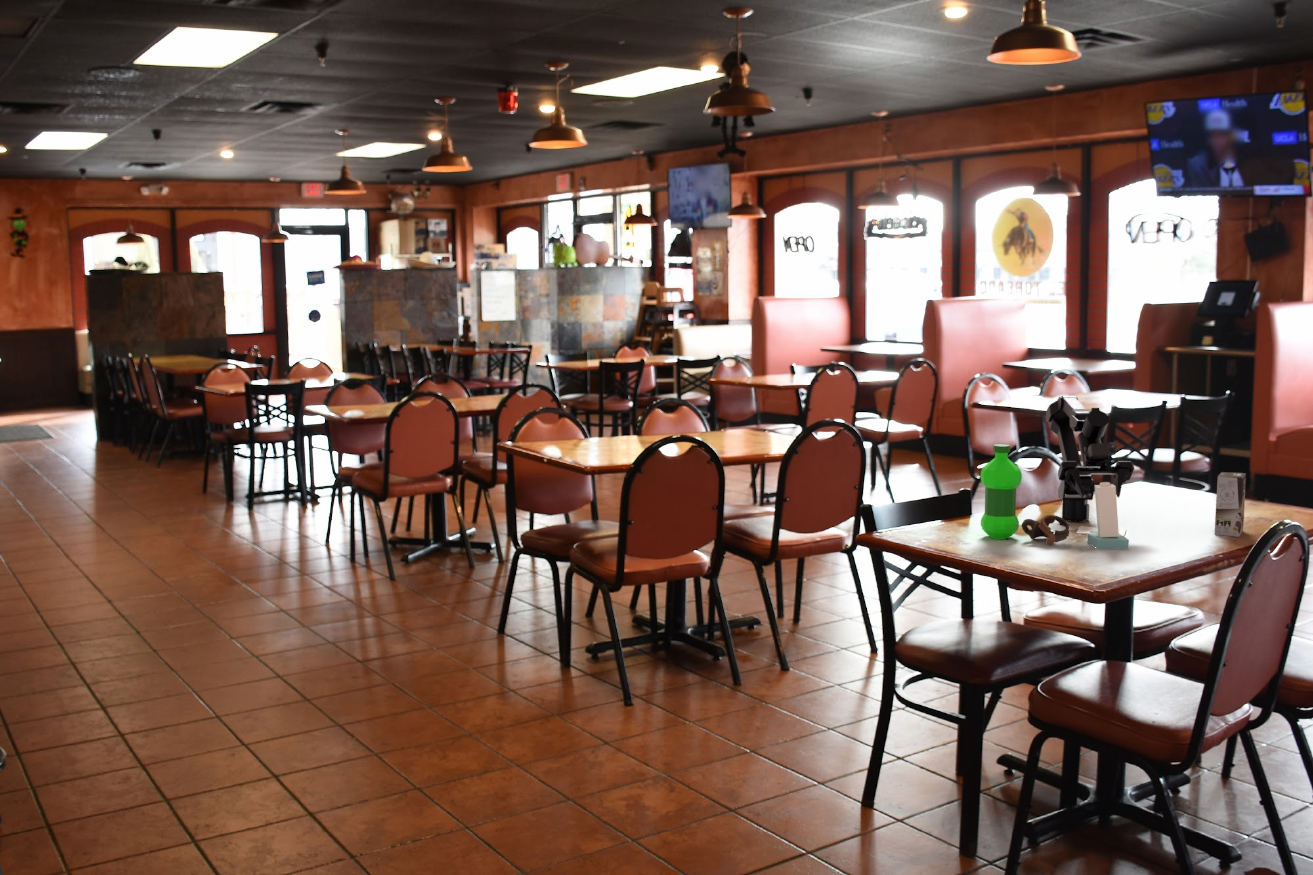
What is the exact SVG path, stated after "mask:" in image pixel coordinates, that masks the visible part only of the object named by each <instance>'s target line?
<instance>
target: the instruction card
mask: <svg viewBox="0 0 1313 875" xmlns="http://www.w3.org/2000/svg"><path fill="white" fill-rule="evenodd" d="M1118 531H1119V534H1121V535H1122V536H1124V537H1125V536H1126V535H1125V534H1126V532H1127V529H1121V528H1118ZM1088 533H1098V528H1097V527H1094V526H1082V525H1081V526H1080V525H1079V527H1078V530H1077V531H1076V534H1077V535H1078V534H1079V535H1088Z"/></svg>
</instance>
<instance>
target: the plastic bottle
mask: <svg viewBox="0 0 1313 875" xmlns="http://www.w3.org/2000/svg"><path fill="white" fill-rule="evenodd" d="M992 449H993V453H995V455H994V458H993V459H991V460H990V461H989V462H988V463H987V464H986V465H984V466H983V467H982V469H981V470H980V483H981V484H982V485H983V486H984V487H985V488H984V513H983V514H982V516H981V520H980V526H981V528H982V531H983V532H984V533H985V534H986V535H987V536H988V537H989V538H990V539H993V538H994V540H1007V539H1006V538H1008V539H1010V537H1012V536H1013V535H1014V534H1015V533H1016V532H1017V531H1018V529H1019V527H1020V521H1019V519H1018V516H1017V515H1016V510H1017V507H1016V505H1017V503H1016V502H1017V487H1019V486H1020V485H1021V482H1022V479H1023V478H1022V476H1023V475H1022V472H1021V468H1019V466H1017V465H1016V464H1015V463H1014V462H1013V461H1011V460H1010V459H1009V456H1008V455H1009V453H1010V452H1011V445H1010V444H1005V443H1004V444H1003V443H1000V444H999V443H997V444H993V448H992Z"/></svg>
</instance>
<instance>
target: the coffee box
mask: <svg viewBox="0 0 1313 875" xmlns="http://www.w3.org/2000/svg"><path fill="white" fill-rule="evenodd" d="M1246 481H1247V473H1244V472H1227V471H1226V472H1225V471H1221V472H1220V473H1219V474H1218V475H1217V481H1216V483H1217V484H1216V496H1215V497H1216V500H1215V501H1216V502H1215V518H1214V519H1215V520H1214V535H1217V536H1227V537H1234V538H1235V537H1236V538H1237V537H1238V538H1239V537H1241V535H1242V533H1243V531H1244V522H1245V503H1246V502H1245V501H1246V497H1245V496H1246V483H1247V482H1246Z"/></svg>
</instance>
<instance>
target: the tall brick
mask: <svg viewBox="0 0 1313 875" xmlns="http://www.w3.org/2000/svg"><path fill="white" fill-rule="evenodd" d="M1094 495H1095V496H1094V498H1095V512H1096V526H1097V527H1096V528H1098V535H1099V536H1100V538H1101V537H1119V531H1118V529H1119V517H1118V504H1117V503H1118V502H1117V500H1118V499H1117V495H1116V486H1114V483H1111V482H1108V481H1103V482H1102V481H1101V482H1099V484H1095V488H1094Z"/></svg>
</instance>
